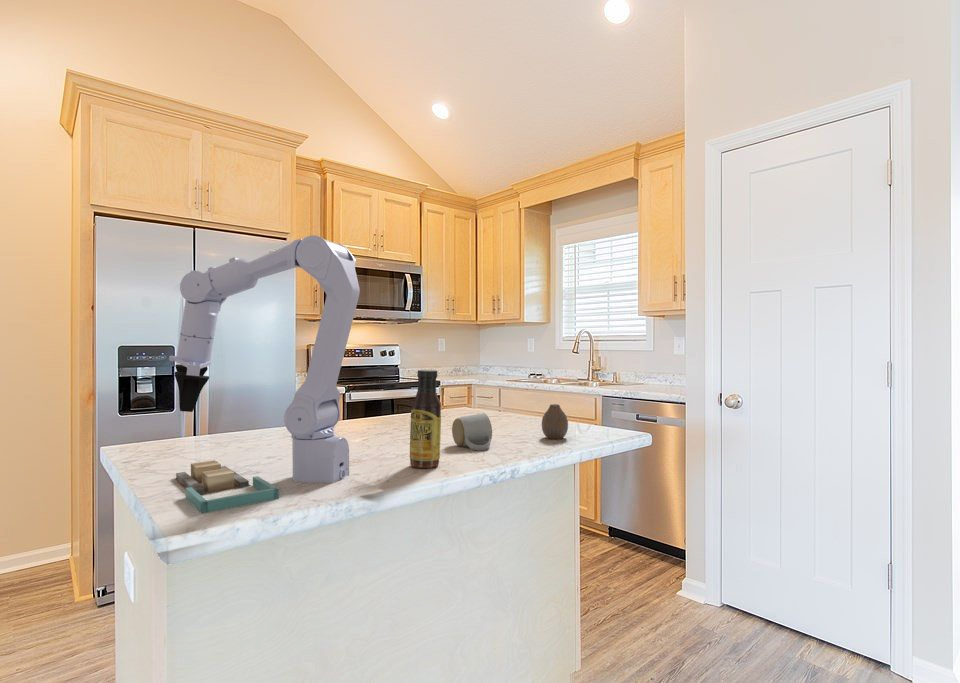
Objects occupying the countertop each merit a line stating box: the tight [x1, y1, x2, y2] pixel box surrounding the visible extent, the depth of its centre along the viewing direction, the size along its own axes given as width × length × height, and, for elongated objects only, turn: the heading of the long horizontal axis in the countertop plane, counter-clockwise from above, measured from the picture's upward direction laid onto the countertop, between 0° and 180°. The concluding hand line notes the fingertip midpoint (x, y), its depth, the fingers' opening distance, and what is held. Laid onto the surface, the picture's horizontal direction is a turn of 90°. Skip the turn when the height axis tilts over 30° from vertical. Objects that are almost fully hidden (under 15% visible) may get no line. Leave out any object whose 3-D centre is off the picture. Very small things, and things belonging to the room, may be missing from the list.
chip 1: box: [190, 459, 222, 482], centre depth 97 cm, size 4×4×2 cm
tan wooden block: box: [202, 467, 235, 492], centre depth 91 cm, size 4×4×2 cm
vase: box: [541, 403, 569, 440], centre depth 142 cm, size 7×7×9 cm
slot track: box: [173, 465, 252, 496], centre depth 94 cm, size 14×9×2 cm, turn 40°
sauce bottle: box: [409, 369, 442, 469], centre depth 111 cm, size 7×6×20 cm
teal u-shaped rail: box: [185, 475, 280, 514], centre depth 85 cm, size 10×11×3 cm
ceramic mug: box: [451, 412, 493, 452], centre depth 131 cm, size 11×8×8 cm
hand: (186, 406), depth 103 cm, fingers open, 7 cm apart
